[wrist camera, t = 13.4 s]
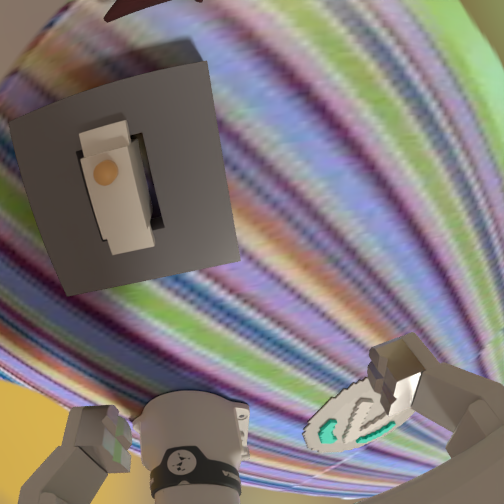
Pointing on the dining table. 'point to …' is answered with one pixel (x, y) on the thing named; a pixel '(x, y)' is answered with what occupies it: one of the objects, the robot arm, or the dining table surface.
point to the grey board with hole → (162, 169)
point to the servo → (118, 187)
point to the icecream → (130, 7)
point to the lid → (351, 420)
